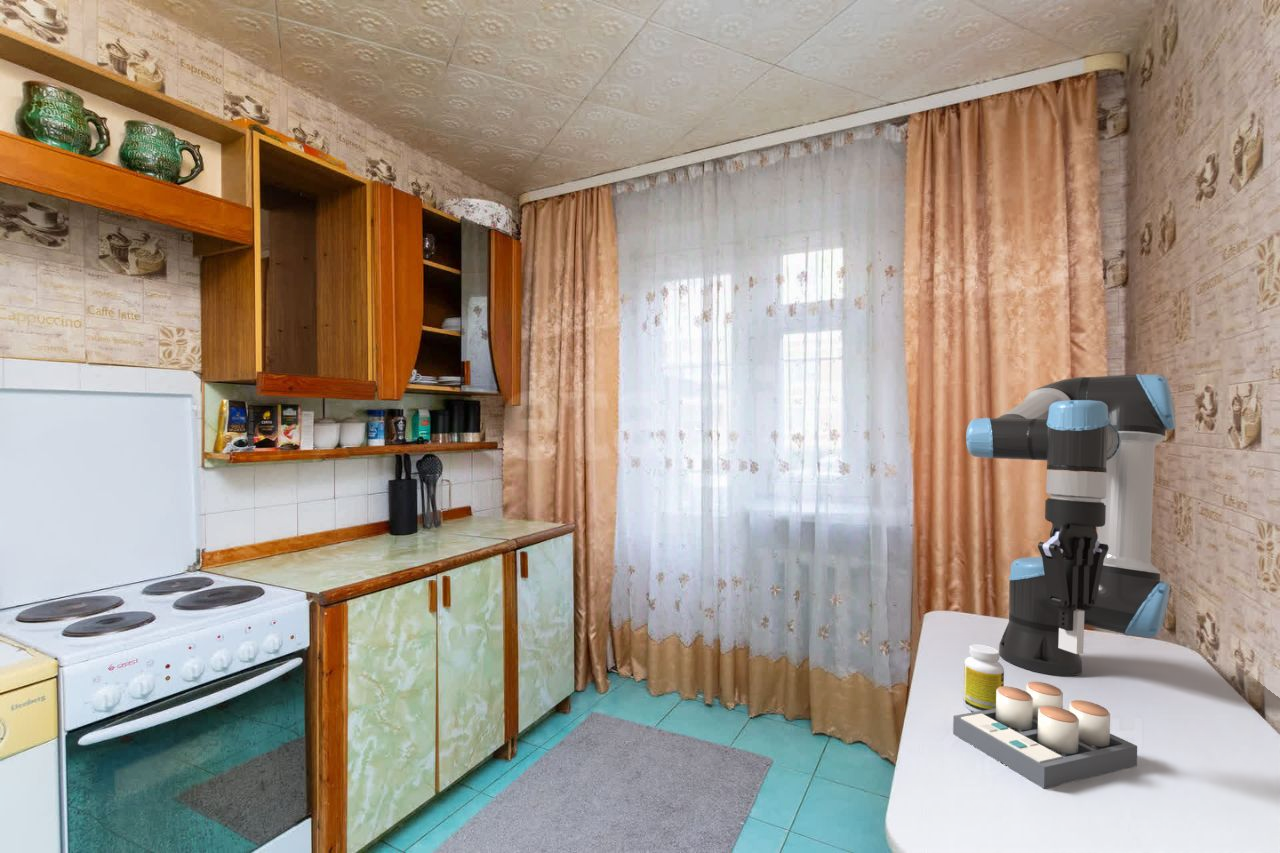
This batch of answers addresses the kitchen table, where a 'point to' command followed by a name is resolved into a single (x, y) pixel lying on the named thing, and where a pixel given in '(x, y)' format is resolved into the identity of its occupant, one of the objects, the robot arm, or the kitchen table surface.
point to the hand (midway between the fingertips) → (1070, 650)
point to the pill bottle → (982, 678)
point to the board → (1041, 751)
